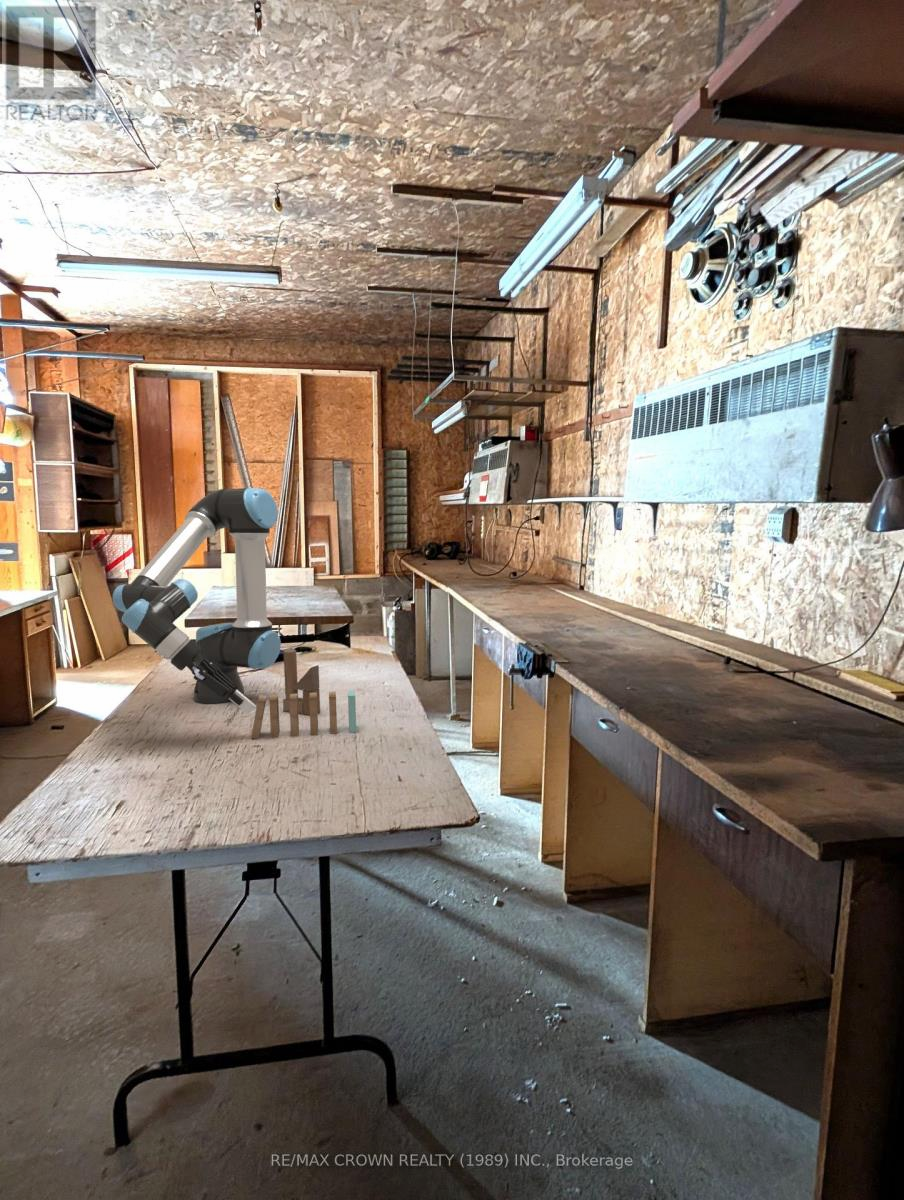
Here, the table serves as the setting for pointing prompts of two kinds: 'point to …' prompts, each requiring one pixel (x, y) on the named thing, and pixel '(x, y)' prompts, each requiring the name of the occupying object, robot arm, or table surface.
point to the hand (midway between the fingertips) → (252, 710)
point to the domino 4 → (313, 714)
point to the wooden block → (300, 683)
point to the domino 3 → (294, 714)
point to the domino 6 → (352, 711)
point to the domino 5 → (333, 712)
